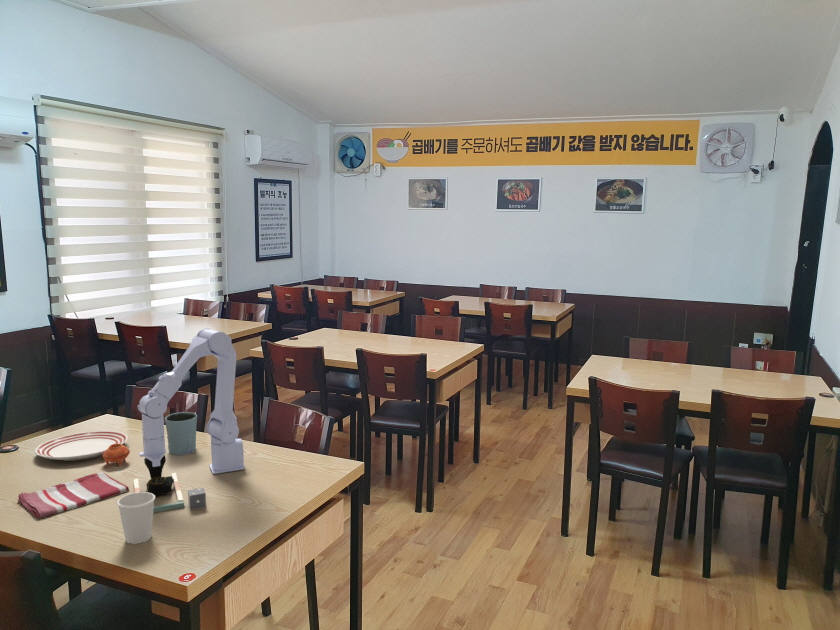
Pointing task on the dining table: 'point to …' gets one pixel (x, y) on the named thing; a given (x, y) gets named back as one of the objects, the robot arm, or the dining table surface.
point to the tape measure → (160, 485)
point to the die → (197, 498)
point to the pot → (116, 453)
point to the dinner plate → (80, 445)
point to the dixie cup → (137, 516)
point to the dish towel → (71, 494)
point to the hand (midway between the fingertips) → (156, 482)
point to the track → (171, 505)
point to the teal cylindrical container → (181, 432)
